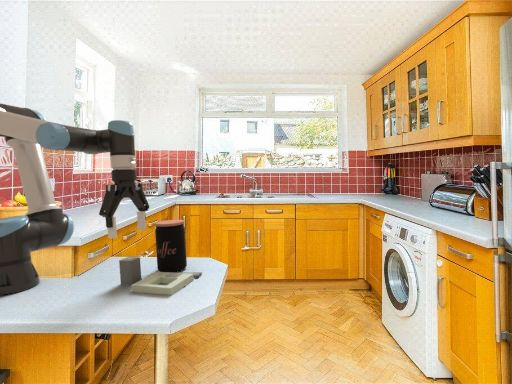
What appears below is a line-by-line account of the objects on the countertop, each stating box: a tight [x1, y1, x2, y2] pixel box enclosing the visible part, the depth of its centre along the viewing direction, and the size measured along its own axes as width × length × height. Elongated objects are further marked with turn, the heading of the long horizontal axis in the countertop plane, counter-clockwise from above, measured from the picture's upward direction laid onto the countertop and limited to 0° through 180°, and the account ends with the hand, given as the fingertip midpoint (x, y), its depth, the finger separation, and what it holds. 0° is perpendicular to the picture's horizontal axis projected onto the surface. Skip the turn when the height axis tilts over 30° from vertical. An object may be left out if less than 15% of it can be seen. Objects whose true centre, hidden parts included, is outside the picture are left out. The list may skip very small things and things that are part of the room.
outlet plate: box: [130, 271, 195, 296], centre depth 94 cm, size 14×13×2 cm
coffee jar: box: [154, 219, 188, 273], centre depth 110 cm, size 11×11×18 cm
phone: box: [181, 271, 203, 279], centre depth 102 cm, size 7×4×1 cm, turn 82°
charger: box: [118, 256, 142, 286], centre depth 98 cm, size 4×4×8 cm
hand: (128, 233), depth 97 cm, fingers open, 13 cm apart
